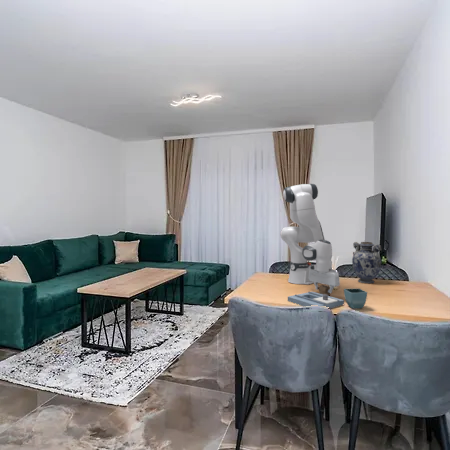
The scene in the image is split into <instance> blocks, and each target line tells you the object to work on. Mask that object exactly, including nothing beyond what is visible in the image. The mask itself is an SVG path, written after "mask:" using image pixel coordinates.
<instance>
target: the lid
mask: <svg viewBox="0 0 450 450" xmlns="http://www.w3.org/2000/svg"><path fill="white" fill-rule="evenodd" d="M313 300H316V301H320V302H323V303H326V304H329V303H333V302H337V301H338V300H335V299H332V298H328V295H327V294H323V297H319V298H315V299H313Z"/></svg>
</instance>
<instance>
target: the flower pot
mask: <svg viewBox="0 0 450 450" xmlns="http://www.w3.org/2000/svg"><path fill="white" fill-rule="evenodd" d="M343 293H344V301H346V304H347V306H348V307H349V306H350V309H363V308H364V307H365V305H366V302H367V297H368V292H367V291H366V290H363V289H361V288H344V289H343Z"/></svg>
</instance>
